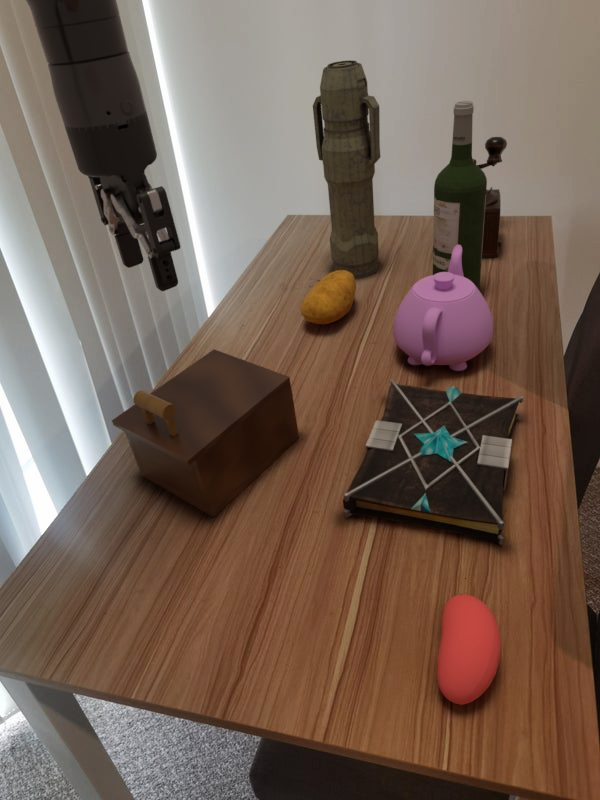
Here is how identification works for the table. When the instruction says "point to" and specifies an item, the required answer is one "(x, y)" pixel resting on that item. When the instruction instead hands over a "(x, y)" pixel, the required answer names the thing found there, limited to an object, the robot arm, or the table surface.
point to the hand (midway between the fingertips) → (150, 275)
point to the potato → (330, 298)
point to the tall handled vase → (349, 164)
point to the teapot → (444, 319)
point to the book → (437, 461)
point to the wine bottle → (460, 202)
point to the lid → (200, 405)
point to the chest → (224, 457)
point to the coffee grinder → (492, 201)
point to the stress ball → (467, 649)
